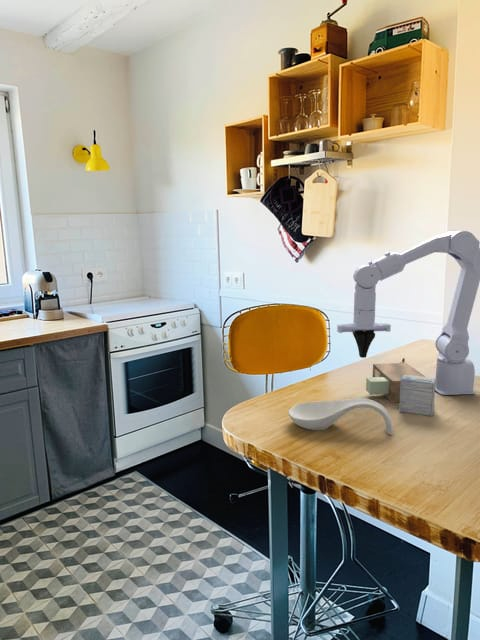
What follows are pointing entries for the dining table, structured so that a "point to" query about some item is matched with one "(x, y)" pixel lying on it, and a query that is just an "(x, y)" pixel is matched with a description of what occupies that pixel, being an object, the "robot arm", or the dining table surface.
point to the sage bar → (377, 385)
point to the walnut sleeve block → (395, 377)
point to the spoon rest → (332, 412)
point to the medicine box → (417, 395)
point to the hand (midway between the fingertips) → (362, 356)
